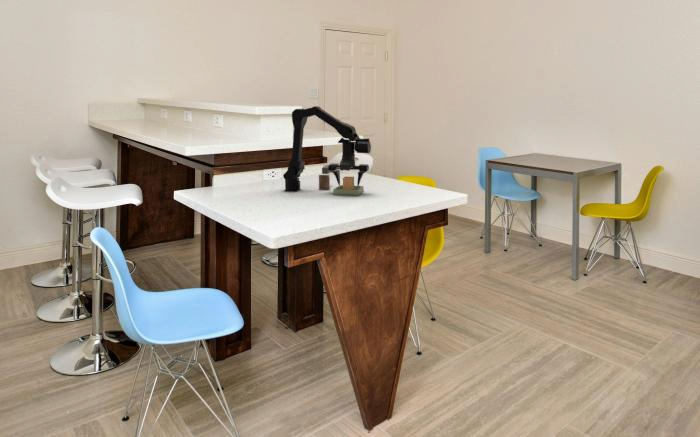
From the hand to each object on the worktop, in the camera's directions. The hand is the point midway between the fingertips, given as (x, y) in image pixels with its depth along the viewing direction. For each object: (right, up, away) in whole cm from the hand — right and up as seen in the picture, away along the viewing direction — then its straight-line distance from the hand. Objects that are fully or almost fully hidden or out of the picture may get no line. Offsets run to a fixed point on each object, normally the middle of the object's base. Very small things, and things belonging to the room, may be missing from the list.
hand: (348, 185), depth 253 cm
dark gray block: (-11, +8, +15) cm, 20 cm away
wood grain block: (-12, -1, +10) cm, 16 cm away
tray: (0, -4, +1) cm, 4 cm away
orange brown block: (0, -3, +1) cm, 3 cm away
